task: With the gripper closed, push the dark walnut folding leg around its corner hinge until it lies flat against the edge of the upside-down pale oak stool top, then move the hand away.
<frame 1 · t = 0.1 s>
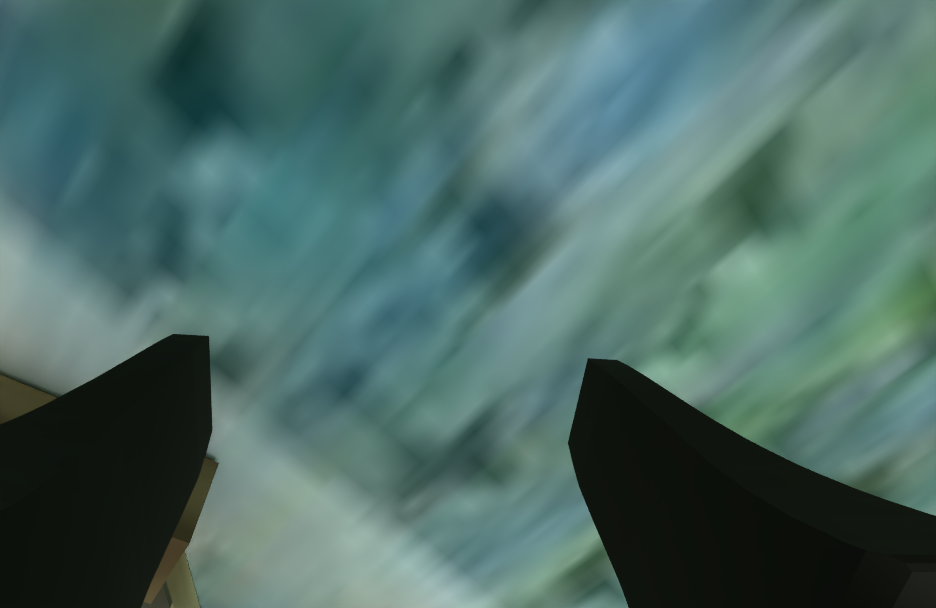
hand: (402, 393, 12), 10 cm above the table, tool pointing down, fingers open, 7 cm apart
folding leg: (37, 479, 21), point 2 cm above the table, hinge at 35.0°
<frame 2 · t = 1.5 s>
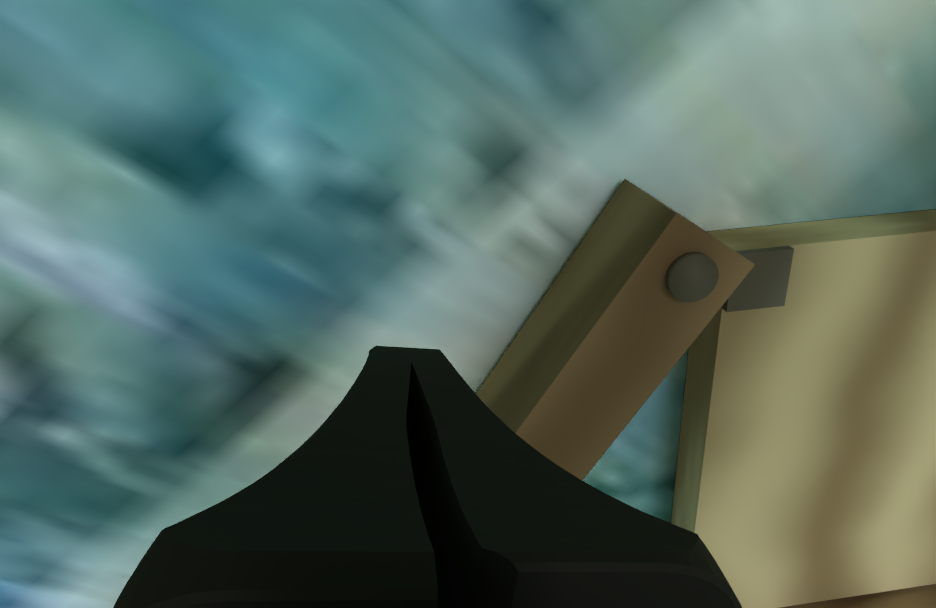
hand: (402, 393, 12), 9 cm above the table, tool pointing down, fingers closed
folding leg: (591, 349, 21), point 2 cm above the table, hinge at 35.0°
stool top: (831, 414, 26), on the table
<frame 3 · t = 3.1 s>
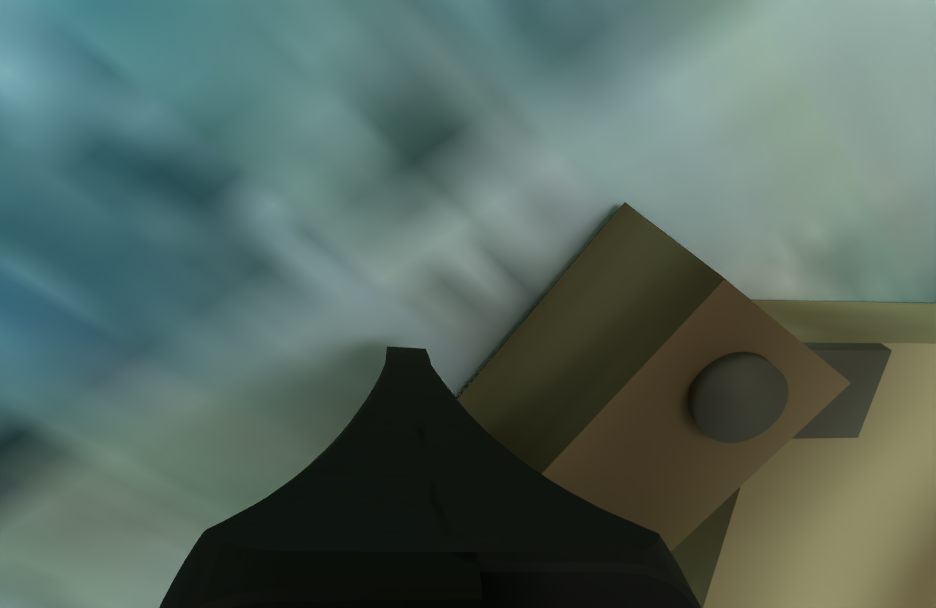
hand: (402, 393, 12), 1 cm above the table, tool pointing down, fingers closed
folding leg: (543, 481, 12), point 2 cm above the table, hinge at 33.6°, touching gripper
stool top: (872, 574, 18), on the table
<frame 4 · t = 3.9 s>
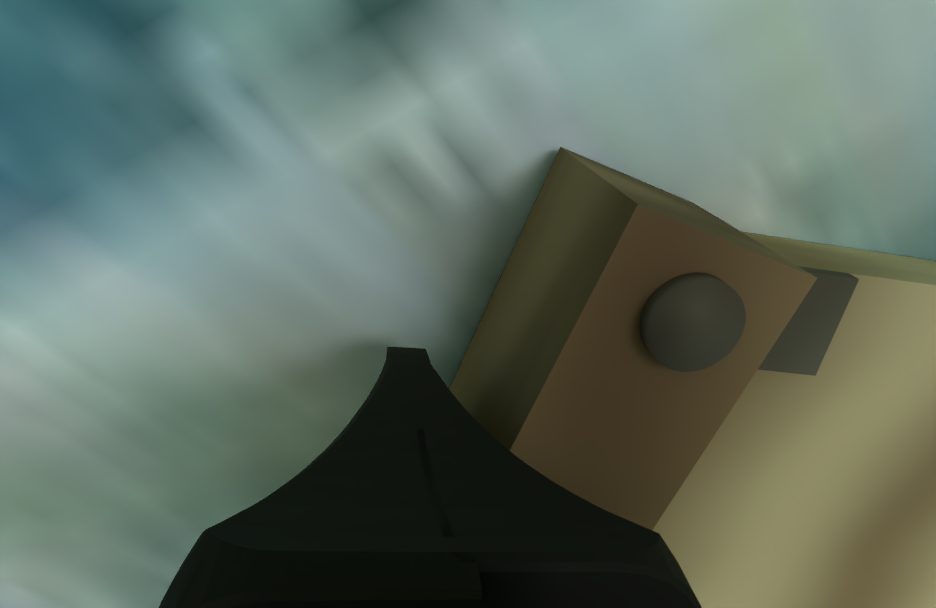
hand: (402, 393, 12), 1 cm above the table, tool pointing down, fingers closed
folding leg: (543, 447, 12), point 2 cm above the table, hinge at 12.4°, touching gripper
stool top: (815, 550, 17), on the table
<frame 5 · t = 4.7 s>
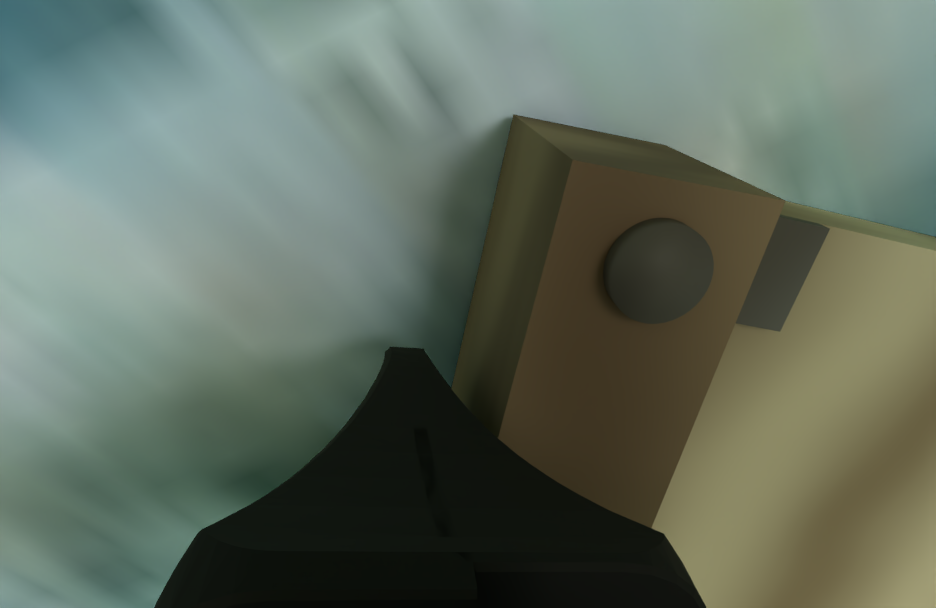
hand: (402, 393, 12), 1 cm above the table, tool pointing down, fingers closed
folding leg: (550, 421, 12), point 2 cm above the table, hinge at -2.3°, touching gripper, stool top
stool top: (772, 533, 17), on the table
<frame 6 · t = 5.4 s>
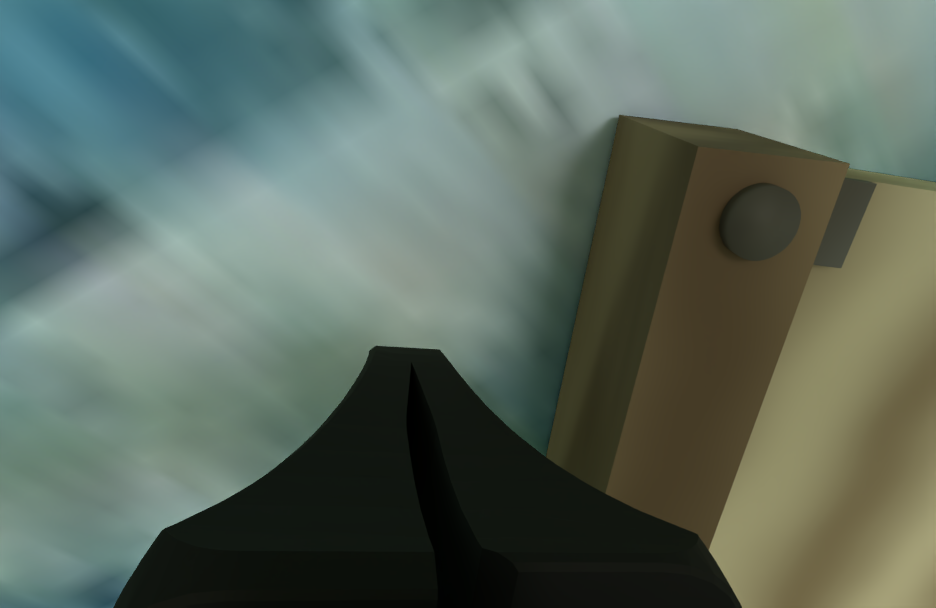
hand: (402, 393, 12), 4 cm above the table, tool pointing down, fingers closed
folding leg: (663, 352, 15), point 2 cm above the table, hinge at -2.2°
stool top: (835, 447, 20), on the table
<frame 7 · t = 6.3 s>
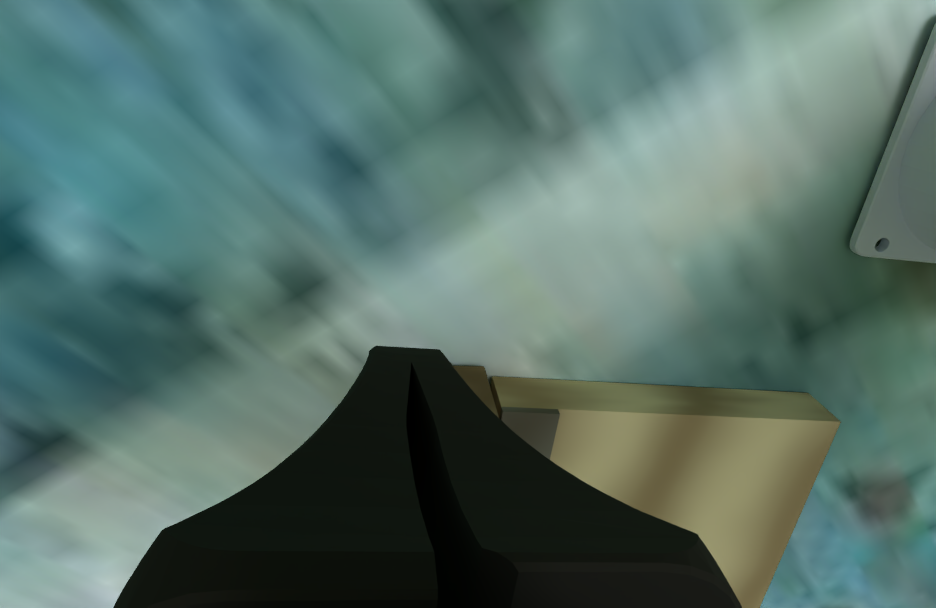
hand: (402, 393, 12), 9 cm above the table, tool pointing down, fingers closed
folding leg: (437, 517, 23), point 2 cm above the table, hinge at -2.2°
stool top: (608, 551, 28), on the table
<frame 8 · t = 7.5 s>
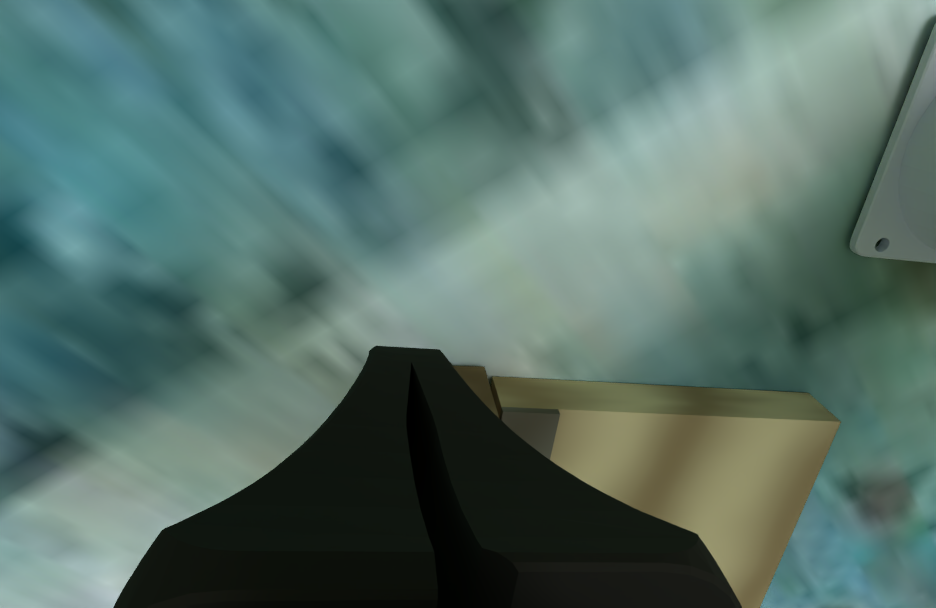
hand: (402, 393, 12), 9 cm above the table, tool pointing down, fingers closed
folding leg: (437, 517, 23), point 2 cm above the table, hinge at -2.2°
stool top: (608, 551, 28), on the table
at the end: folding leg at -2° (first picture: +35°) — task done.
